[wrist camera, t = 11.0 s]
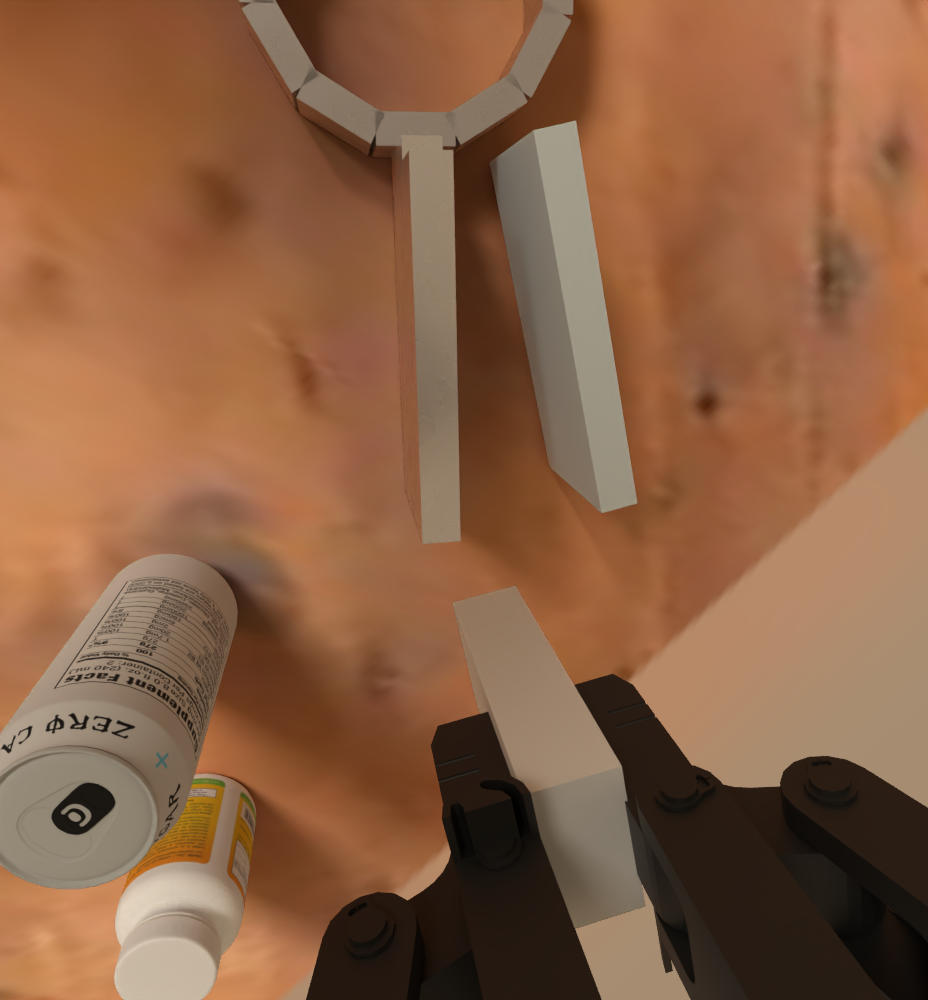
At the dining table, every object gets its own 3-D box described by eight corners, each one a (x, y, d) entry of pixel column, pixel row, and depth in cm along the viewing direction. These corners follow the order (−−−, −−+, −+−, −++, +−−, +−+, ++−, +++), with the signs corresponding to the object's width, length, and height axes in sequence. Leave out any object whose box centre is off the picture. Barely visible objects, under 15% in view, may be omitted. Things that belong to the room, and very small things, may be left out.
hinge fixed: (290, 498, 35) (278, 554, 28) (226, -214, 27) (189, -386, 20) (544, 482, 37) (594, 531, 30) (554, -188, 29) (626, -336, 22)
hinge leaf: (549, 467, 36) (601, 513, 29) (489, 162, 32) (533, 130, 25) (578, 459, 37) (637, 503, 29) (522, 154, 32) (575, 120, 25)
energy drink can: (80, 607, 35) (-94, 832, 21) (170, 521, 35) (55, 691, 20) (179, 684, 37) (83, 938, 23) (266, 603, 36) (223, 812, 22)
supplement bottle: (129, 825, 39) (65, 996, 29) (192, 751, 38) (147, 903, 29) (216, 871, 40) (182, 1046, 31) (278, 801, 40) (261, 959, 31)
